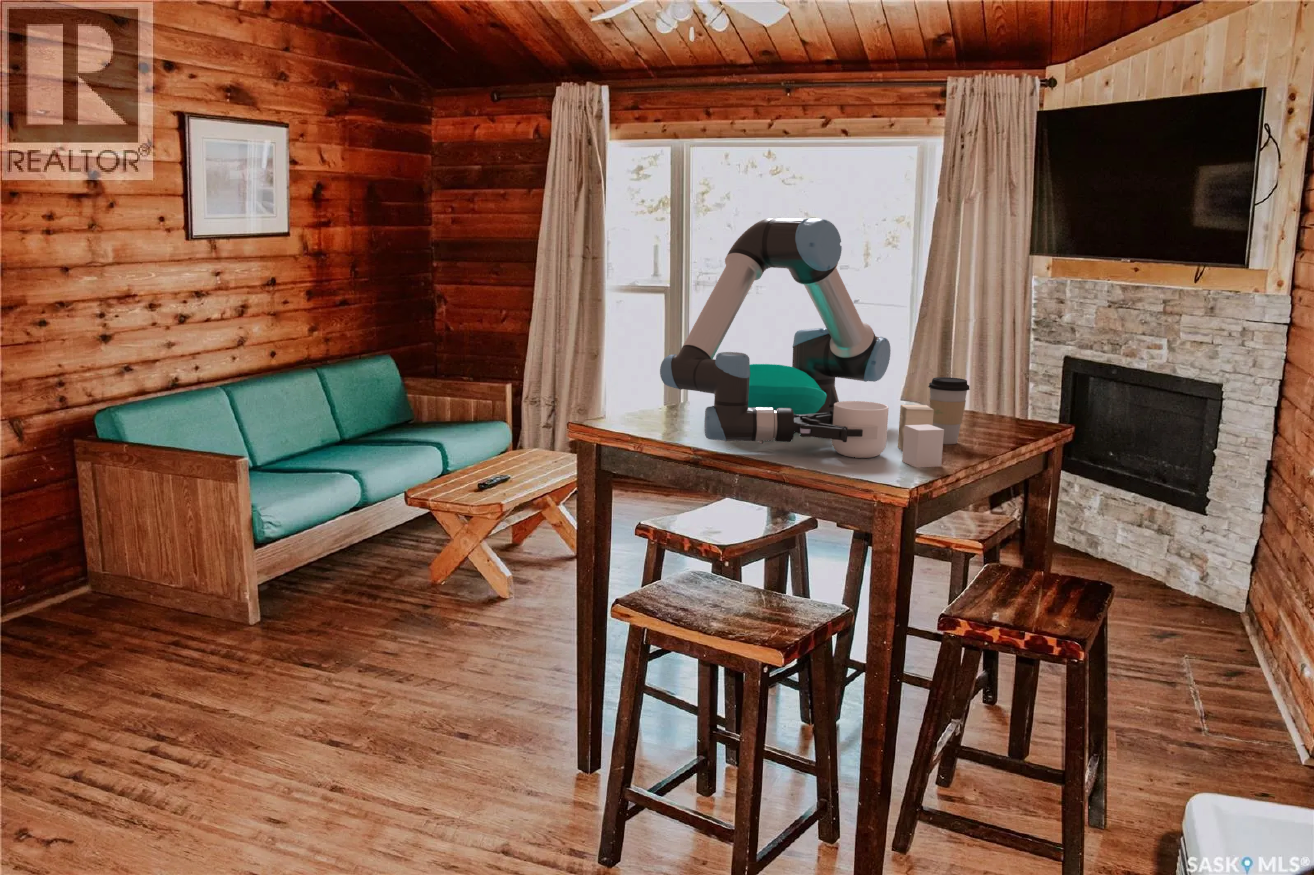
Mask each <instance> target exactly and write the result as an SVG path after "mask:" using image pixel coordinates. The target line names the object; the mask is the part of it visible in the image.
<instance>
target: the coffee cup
mask: <svg viewBox="0 0 1314 875" xmlns="http://www.w3.org/2000/svg"><path fill="white" fill-rule="evenodd" d="M928 384H929V385H928V388H929V393H930V394H929V395H930V396H929V407H930V408H932V409H934V414H933V426H935V427H938V428H941V429H944V437H943V445H955V444H958V440H959V435H960V429H961V425H962V423H963V418H964V417H963V416H964V412H965V407H966V399H967V391H969V390H971V389H970V385H969V384H968V380H967V379H965V378H960V377H950V376H948V377H947V376H945V377H944V376H943V377H942V376H941V377H940V376H938V377H933V378H932V379H931V382H929V383H928Z"/></svg>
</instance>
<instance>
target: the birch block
mask: <svg viewBox="0 0 1314 875" xmlns="http://www.w3.org/2000/svg"><path fill="white" fill-rule="evenodd" d="M899 408H900V410H899V419H898V420H899V422H898V434H897V435H898V436H897V448H898V449H899V450H900V451H902V452H903V441H904V426H905V425H926V424H930V425H932V426H933V414H934V409H932V408H930V405H927V404H900V407H899Z"/></svg>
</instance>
